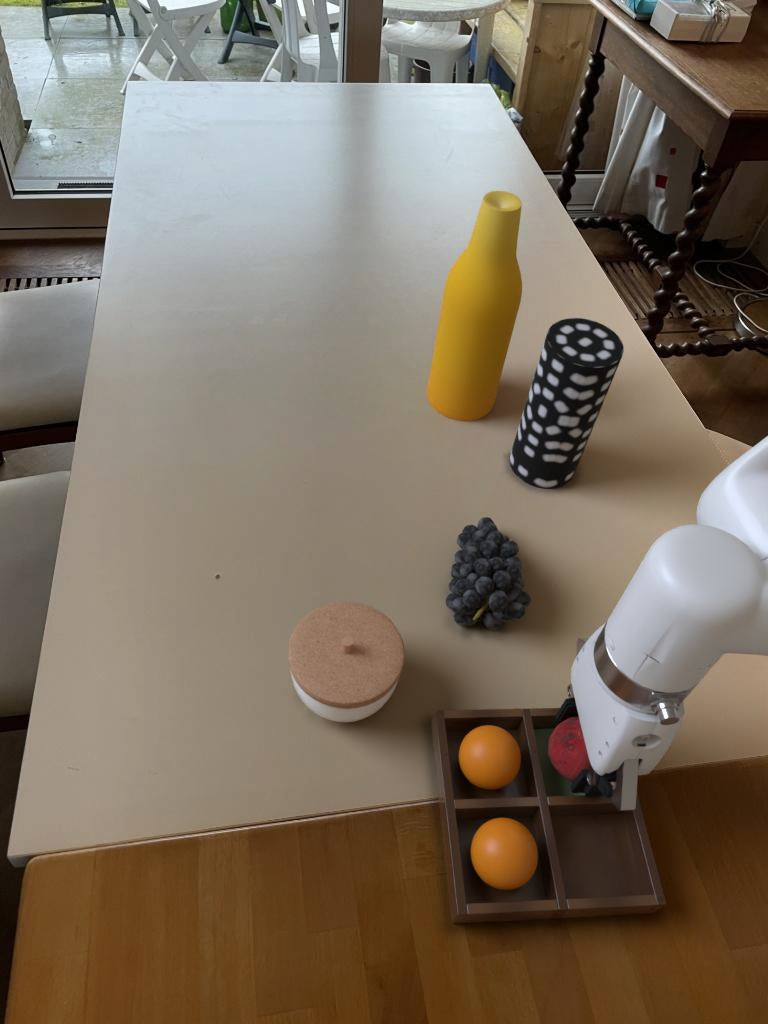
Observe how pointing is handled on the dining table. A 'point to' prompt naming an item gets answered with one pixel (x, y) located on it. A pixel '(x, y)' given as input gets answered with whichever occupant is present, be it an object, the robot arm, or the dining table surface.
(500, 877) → the clementine
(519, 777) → the wooden compartment tray
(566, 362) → the white-spotted black cylinder
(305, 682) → the trinket box
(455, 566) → the fruit
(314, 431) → the dining table surface
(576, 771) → the pomegranate
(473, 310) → the beer bottle
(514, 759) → the clementine
